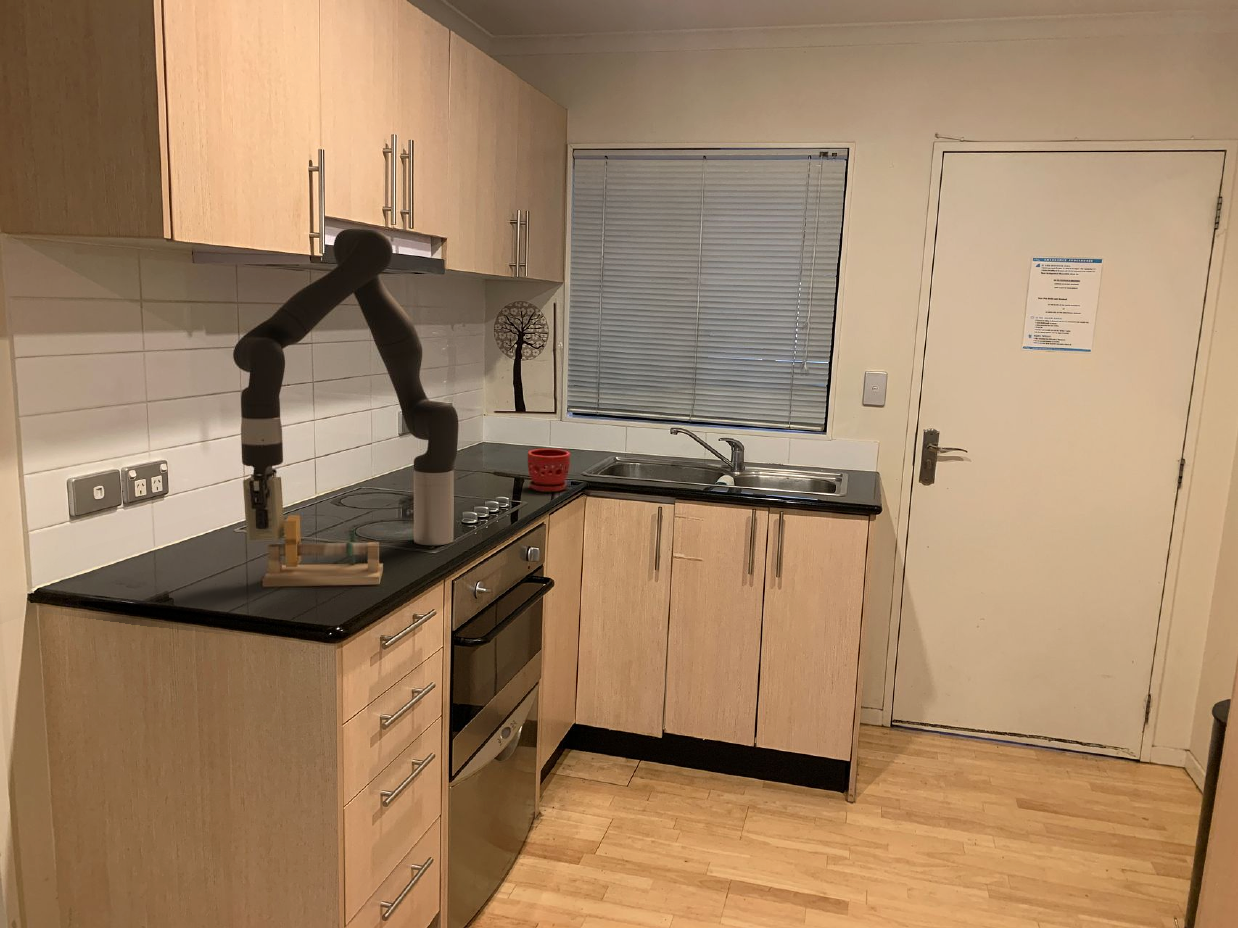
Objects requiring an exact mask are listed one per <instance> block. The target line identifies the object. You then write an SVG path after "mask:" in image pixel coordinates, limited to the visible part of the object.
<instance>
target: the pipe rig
mask: <svg viewBox="0 0 1238 928" xmlns="http://www.w3.org/2000/svg"><path fill="white" fill-rule="evenodd" d="M349 531H350V532H349V534H350V535H349V536H350V537H349V539H350V541H349V542H339V543H338V542H334V543H333V542H330V543H329V542H327V543H326V542H325V543H321V542H320V543H317V542H316V543H314V542H313V543H301V544H297V556H301V557H303V556H307V557H309V556H314V557H315V556H347V557H350V563H331V564H329V563H327V564H326V563H321V564H319V563H318V564H317V563H316V564H314V563H313V564H310V563H309V564H298V565H297V567H286V564H283V560H282V558H283V557H286V552H285V543H280V542H279V543H278V542H277V543H276V542H275V543H270V544H269V545H268V547H267V555H268V557H267V559H268V571H267V572H266V573H265V575H264V577H263V578H262V587H265V588H267V587H305V586H306V587H308V586H309V587H311V586H315V587H317V586H319V587H320V586H360V585H362V586H363V585H366V586H367V585H380V584H381V579H382V576H383V571H384V563H380V542H379V541H369V542H356V539H355V538H356V531H355V528H350V529H349ZM365 555H367V563H356V556H365Z"/></svg>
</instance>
